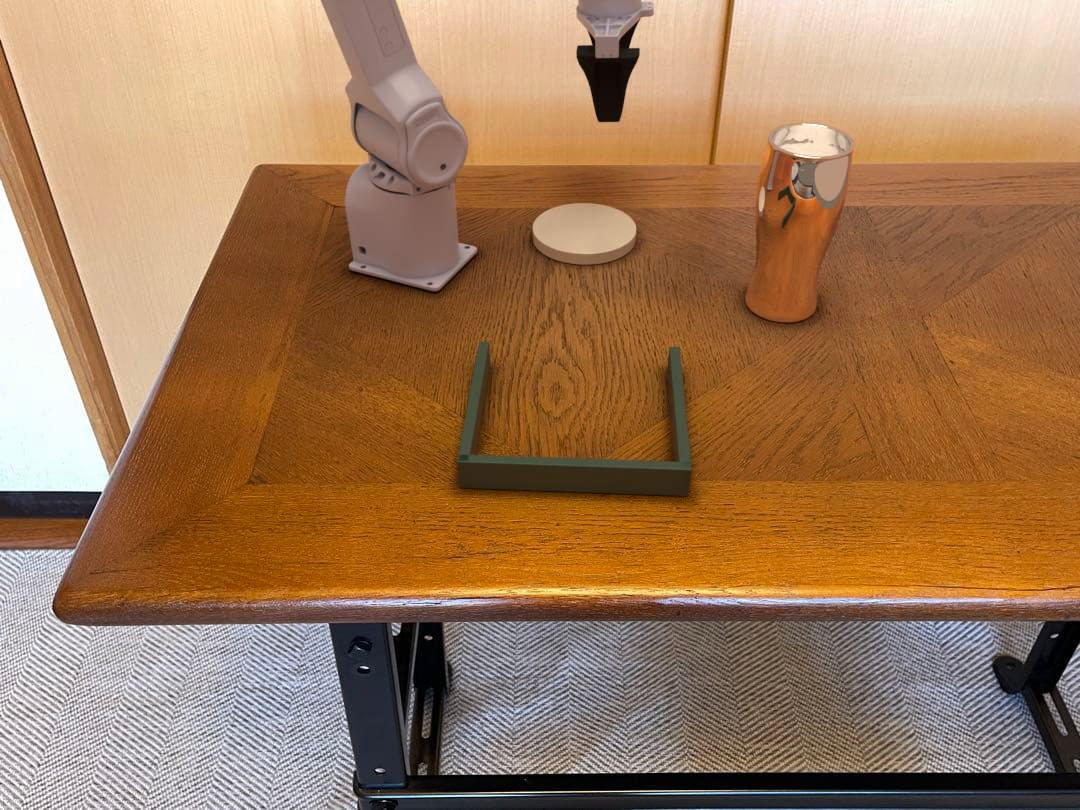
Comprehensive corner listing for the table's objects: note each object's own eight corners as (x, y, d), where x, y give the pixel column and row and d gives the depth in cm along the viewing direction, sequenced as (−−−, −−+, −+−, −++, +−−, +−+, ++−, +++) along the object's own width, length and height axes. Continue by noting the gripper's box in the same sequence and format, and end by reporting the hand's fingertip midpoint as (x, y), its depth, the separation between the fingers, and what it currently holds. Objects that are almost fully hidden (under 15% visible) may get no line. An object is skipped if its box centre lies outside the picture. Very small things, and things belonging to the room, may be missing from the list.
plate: (515, 251, 88) (514, 240, 87) (557, 206, 95) (557, 195, 94) (613, 274, 85) (614, 262, 84) (650, 225, 92) (651, 214, 91)
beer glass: (822, 330, 78) (860, 162, 68) (738, 321, 79) (764, 154, 69) (820, 286, 83) (855, 124, 73) (741, 278, 84) (765, 118, 74)
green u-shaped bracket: (480, 366, 74) (479, 341, 72) (676, 372, 73) (679, 346, 72) (459, 488, 63) (456, 461, 62) (688, 496, 63) (692, 469, 61)
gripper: (655, -20, 76) (651, 136, 85) (655, -71, 86) (651, 72, 95) (569, -17, 76) (574, 137, 85) (579, -68, 87) (583, 73, 96)
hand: (610, 103), depth 91 cm, fingers open, 7 cm apart
